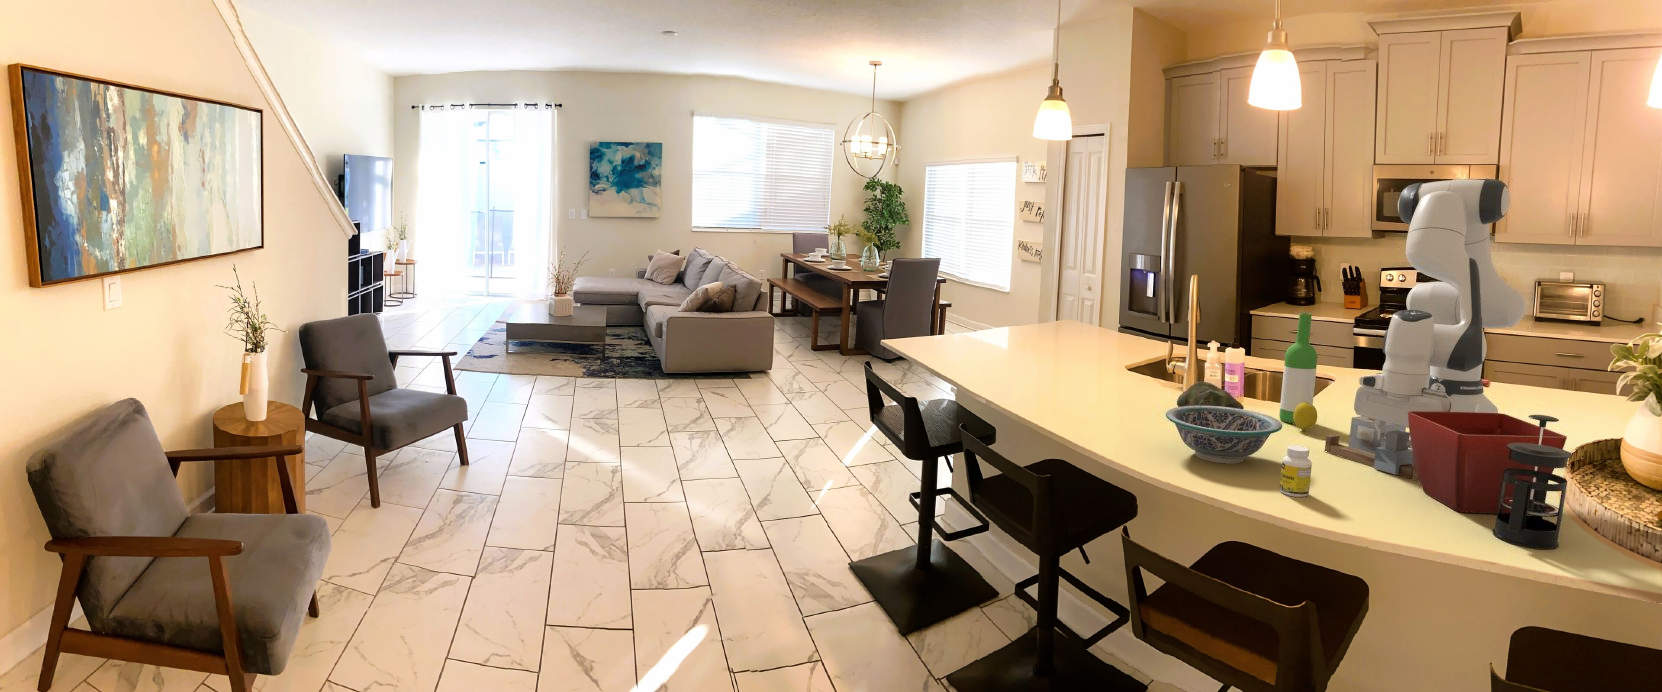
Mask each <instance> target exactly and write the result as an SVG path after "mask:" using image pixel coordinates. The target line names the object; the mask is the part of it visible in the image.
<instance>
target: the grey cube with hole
mask: <svg viewBox="0 0 1662 692" xmlns="http://www.w3.org/2000/svg"><path fill="white" fill-rule="evenodd" d="M1350 421H1351V422H1350V429H1349V430H1350V431H1349V440H1348V447H1351V448H1355V449H1358V450H1361V451H1365V452H1368V453H1372V454H1375V453H1376V448H1377V447H1384V446H1386V441H1383V440H1379V439H1378V431H1377V429H1376V427H1375V425H1374V421H1373V420H1372V418H1368V417H1364V416H1360V415H1358V416H1352V417H1351V419H1350ZM1384 426H1385V429H1386V432H1388V431H1395V430H1402V431H1406V430H1407V427H1403V426H1399V425H1396V424H1392V423H1388V422H1386V424H1384ZM1406 432H1407V431H1406Z"/></svg>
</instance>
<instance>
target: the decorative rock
mask: <svg viewBox="0 0 1662 692" xmlns="http://www.w3.org/2000/svg"><path fill="white" fill-rule="evenodd" d="M1176 405H1177V407H1183V406H1219V407H1229V408H1237V409H1243V410H1245V407H1244V405H1243V404H1242V403H1241V402H1239V401H1238V400H1237V399H1236V398H1235V397H1234V396H1233V395H1232V394H1231V393H1230V392H1228V391H1227V390H1225V389H1222V388H1220V387H1218V386H1217V385H1215V384H1213V383H1211V382H1209V381H1208V382H1207V381H1203V380H1202V381H1196V382H1194V383H1193V384H1192V385H1190V386H1189V387H1188V388H1187V389H1186V390H1185V391H1183V392H1182V393H1181V394H1180V395H1179V396H1178V398H1177V400H1176Z"/></svg>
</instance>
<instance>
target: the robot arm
mask: <svg viewBox="0 0 1662 692" xmlns="http://www.w3.org/2000/svg"><path fill="white" fill-rule="evenodd" d="M1510 205H1511V194H1510V191H1509V188H1508V185H1507V184H1506V183H1505V182H1503V181H1502V180H1500V179H1495V178H1486V179H1473V178H1459V179H1457V178H1456V179H1452V180H1441V181H1438V180H1437V181H1431V182H1426V183H1425V182H1416V183H1413V184H1410V185H1407V186H1406V187H1404V188H1403V190H1402V191H1401V193H1400V196H1399V199H1398V201H1397V210H1398V211H1397V212H1398V215H1399V218H1400V221H1402V222H1403V223H1405V224H1406V225H1408V226H1409V227H1408V231H1407V237H1406V242H1405V243H1406V244H1405V257H1406V259H1407V261H1408V263H1409V264H1410V265H1411V267H1413V268H1414V269H1415V270H1416V271H1418V272H1420V273H1421V274H1423V275H1425V276H1428V277H1430V278H1433V279H1436V280H1438V281H1428V282H1421V283H1420V282H1419V283H1418V284H1416V285H1415V286H1413V287H1412V289H1410V291H1409V292H1408V294H1407V297H1406V299H1405V300H1406V309H1404V310H1399V311H1397V312H1394V313H1393V314H1392V317H1391V318H1390V322H1389V325H1388V329H1386V330H1385V331H1384V335H1383V341H1382V349H1381V350H1382V352H1383V354H1385V361H1384V364H1383V365H1382V371H1381V372H1379V373H1375V374H1367V375H1361V376H1360V377H1359V379H1358V384H1359V385H1360V386H1359V387H1358V388H1357V390H1356V392H1355V398H1354V402H1353V403H1354V404H1353V409H1354V412H1355V414H1356V415H1357V416H1364V417H1368V418H1372V419H1375V420H1374V425H1375V427H1376V429H1377V431H1378V439H1379V440H1383V441H1386V439H1387V432H1386V429H1385V426H1384V424H1386V422H1388V423H1392V424H1396V425H1399V426H1403V427H1406V429H1407V428H1408V429H1409V423H1408V412H1409V411H1432V412H1478V413H1499V408H1498V407H1497V406H1496V405H1495V403H1493V402H1492V401H1491V400H1490V399H1489V398H1488V397H1487V396H1486V395H1485V394H1484V391H1485V390H1484V388H1490V386H1491V383H1492V382H1491V380H1489V379H1484V378H1481V377H1482V371H1483V370H1482V369H1483V363H1484V361H1485V359H1486V356H1487V349H1488V348H1487V346H1488V345H1487V340H1486V336H1485V332H1484V329H1503V328H1504V329H1505V328H1513V327H1514V326H1516V325H1518V324H1519V323H1520V322H1521V321H1522V319H1524V317H1525V315H1526V312H1527V301H1526V298H1525V297H1524V295H1523V294H1522V293H1521V292H1520V290H1518V289H1516V288H1514V287H1513V286H1511V285H1510V284H1509V283H1507V282H1506V281H1505V280H1504V279H1503V278H1502V276H1501V275H1500V274H1499V273H1498V271H1497V270H1496V268H1495V267H1494V263H1493V260H1492V253H1491V252H1492V251H1491V242H1490V241H1491V235H1490V234H1491V233H1490V224H1493V223H1497V222H1499V221H1500V220H1502V219H1503V218H1505V216H1506V213H1507V212H1508V210H1509V208H1510ZM1406 447H1408V448H1409V449H1412V445H1411V439H1410V438H1409V440H1407V444H1406Z"/></svg>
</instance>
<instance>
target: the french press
mask: <svg viewBox="0 0 1662 692" xmlns="http://www.w3.org/2000/svg"><path fill="white" fill-rule="evenodd" d="M1528 419H1531V420H1534V421H1539V423H1538V426H1539V427H1541V430H1540V437H1539V443H1538V444H1532V443H1510V444H1507V448H1508V449H1510V450H1509V459H1511V460H1513V461H1516V462H1519V463H1522V464H1526V465H1531V466H1535V470H1531V469H1522V468H1509V469H1505V470H1503V476H1502V483H1501V490H1500V497H1499V504H1498V511H1497V514H1496V517H1495V525H1494V526H1495V527H1494V528H1493V530H1492V535H1493V536H1494V538H1497V539H1498V540H1501V541H1503V542H1506V543H1508V544H1512V545H1514V546H1517V547H1522V548H1527V549H1534V550H1541V551H1542V550H1544V551H1545V550H1546V551H1547V550H1548V551H1549V550H1556V549H1558V548H1560V542H1559V537H1560V531H1561V525H1562V520H1563V513H1564V506H1565V501H1566V494H1567V488H1568V480H1567V479H1566V478H1564V477H1563V476H1560V475H1558V474H1554V473H1552V474H1551V473H1547V472H1543V471H1538V470H1537V467H1544V468H1555V469H1564V468H1566V467H1567V466H1568V459H1570V458H1572V457H1573V454H1572V453H1571V452H1569V451H1567V450H1564V449H1563V450H1562V449H1559V448H1555V447H1551V446H1546V445H1541V441H1542V434H1543V428H1545V429H1547V428H1546V427H1547V423H1549V422H1550V423H1556V422H1559V421H1560V420H1559V419H1558V418H1557V417H1554V416H1551V415H1545V414H1531V415H1530V414H1529V415H1528ZM1510 475H1521V476H1530V477H1533V482H1531V481H1526V480H1522V479H1518V478H1515V477H1512V476H1510ZM1536 477H1537V479H1536ZM1535 480H1536V482H1535ZM1549 481H1550V482H1553V483H1549ZM1506 482H1508V483H1510V484H1513V485H1515V486H1514V492H1513V498H1504V494H1505V488H1506ZM1530 490H1531V496H1530ZM1534 490H1535V492H1534ZM1548 492H1561V493H1560V498H1559V504H1558V507H1557V506H1555V505H1552V504H1550V503H1546V500H1547V493H1548ZM1533 493H1534V498H1533ZM1529 496H1530V499H1529ZM1503 506H1504V507H1505V508H1507V509H1509V510H1511V512H1510V513H1502V508H1503ZM1555 517H1557V518H1556V523H1555V522H1554V521H1551V520H1549V519H1545V518H1555Z"/></svg>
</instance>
